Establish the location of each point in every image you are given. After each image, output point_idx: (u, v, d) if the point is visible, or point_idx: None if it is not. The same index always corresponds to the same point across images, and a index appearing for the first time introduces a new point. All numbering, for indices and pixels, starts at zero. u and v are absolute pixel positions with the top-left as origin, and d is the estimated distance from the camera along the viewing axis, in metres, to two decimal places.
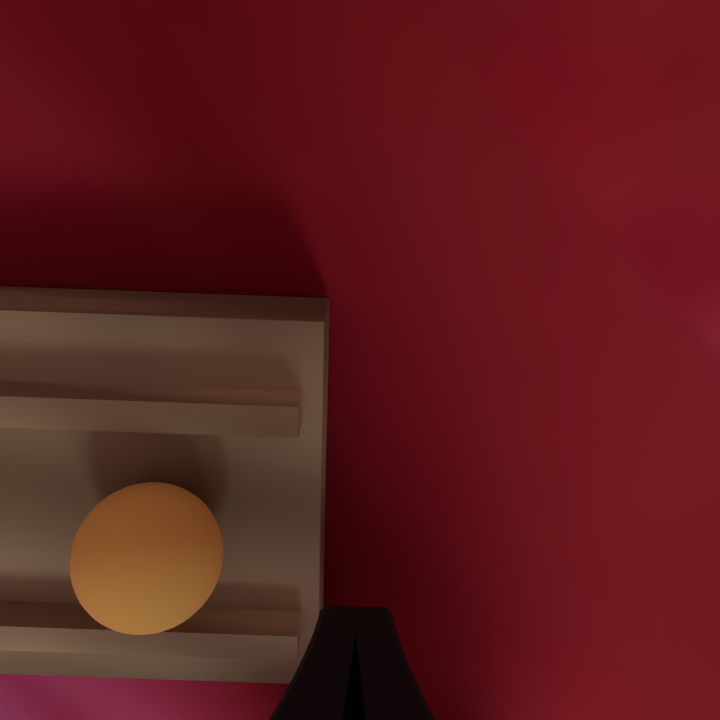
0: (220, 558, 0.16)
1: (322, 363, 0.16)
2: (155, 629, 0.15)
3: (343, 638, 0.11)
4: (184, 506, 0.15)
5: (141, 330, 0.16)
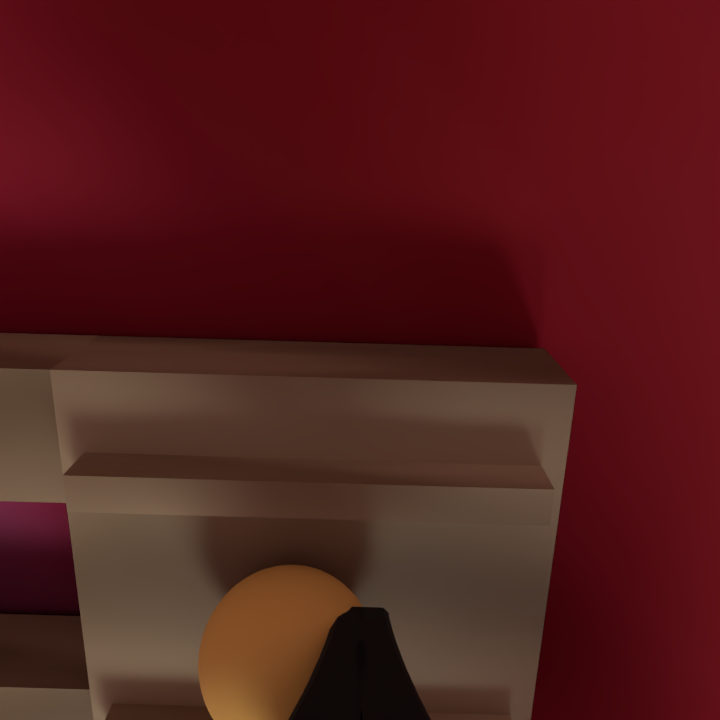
0: None
1: (568, 433, 0.13)
2: None
3: (358, 638, 0.11)
4: (315, 618, 0.12)
5: (355, 396, 0.13)
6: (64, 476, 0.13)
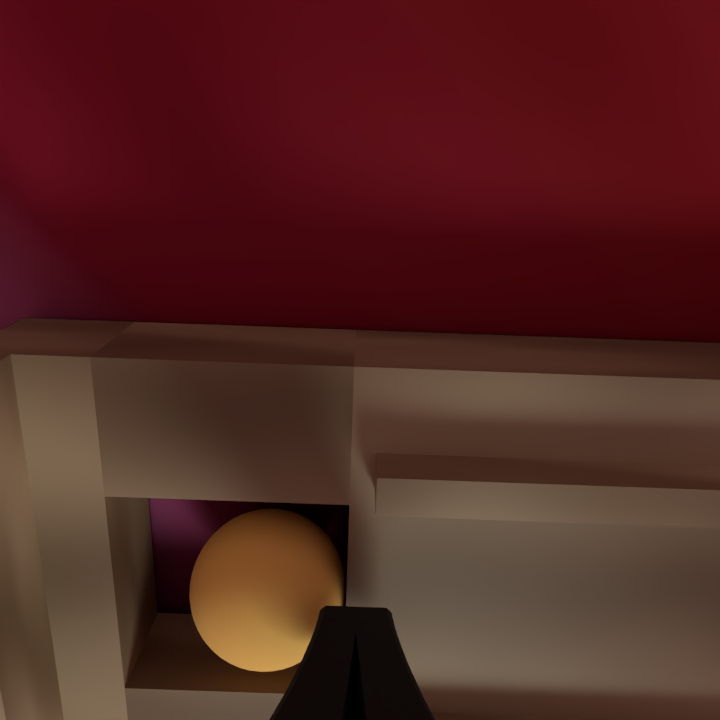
0: None
1: None
2: None
3: (343, 637, 0.11)
4: (256, 511, 0.15)
5: (671, 396, 0.12)
6: (378, 479, 0.12)
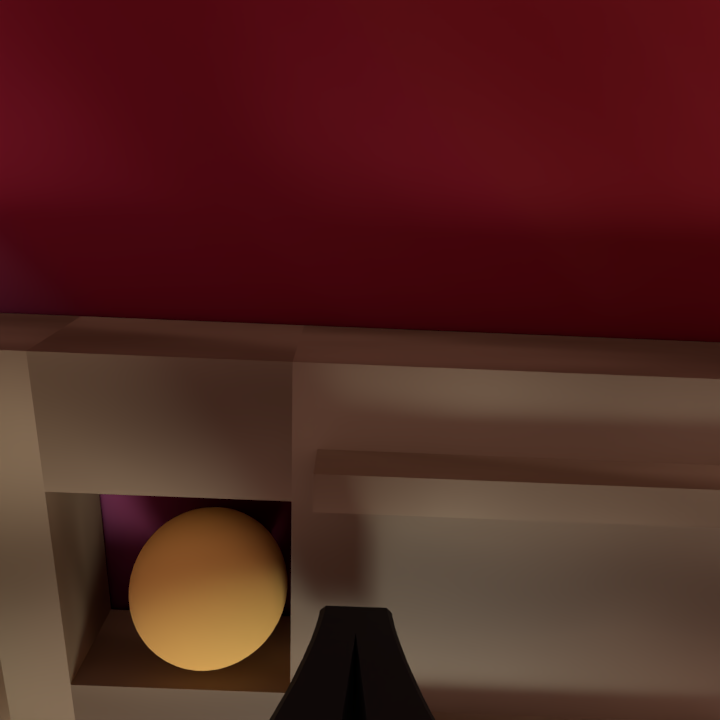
0: None
1: None
2: None
3: (343, 637, 0.11)
4: (199, 510, 0.15)
5: (612, 393, 0.12)
6: (314, 475, 0.12)
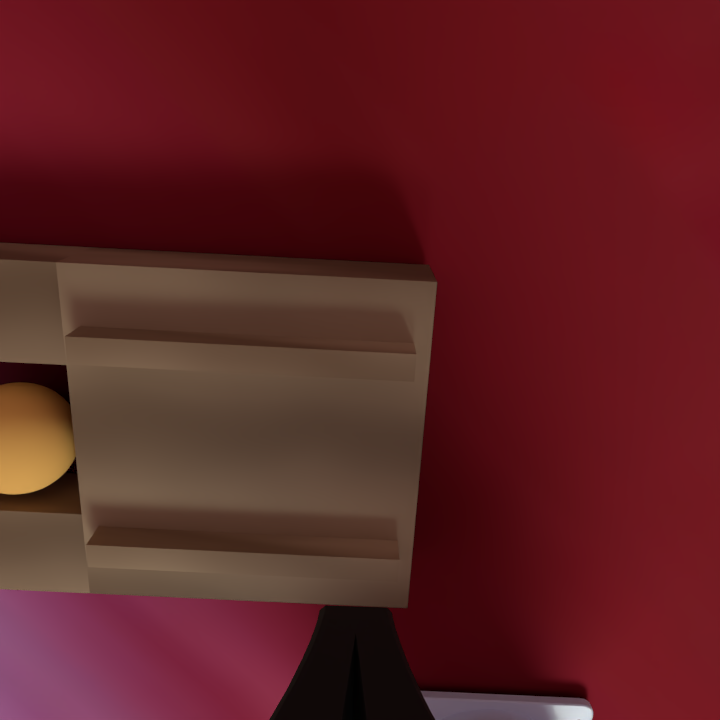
0: None
1: (433, 318, 0.18)
2: None
3: (343, 638, 0.11)
4: (14, 383, 0.20)
5: (277, 287, 0.18)
6: (65, 337, 0.18)
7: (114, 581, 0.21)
